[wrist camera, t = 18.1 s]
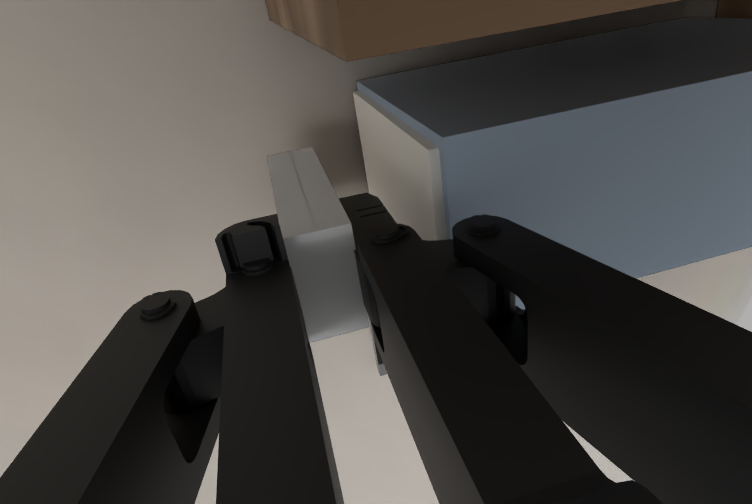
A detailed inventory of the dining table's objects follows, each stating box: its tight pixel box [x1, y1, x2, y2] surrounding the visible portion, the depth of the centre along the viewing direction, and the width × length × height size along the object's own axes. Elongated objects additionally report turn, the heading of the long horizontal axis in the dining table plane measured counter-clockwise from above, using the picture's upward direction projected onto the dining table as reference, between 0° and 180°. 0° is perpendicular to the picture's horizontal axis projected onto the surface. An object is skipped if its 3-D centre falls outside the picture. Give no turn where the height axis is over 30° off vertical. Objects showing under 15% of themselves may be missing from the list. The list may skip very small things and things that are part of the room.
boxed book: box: [353, 17, 752, 310], centre depth 17 cm, size 5×14×9 cm, turn 98°
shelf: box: [265, 0, 752, 62], centre depth 14 cm, size 12×19×14 cm, turn 98°
